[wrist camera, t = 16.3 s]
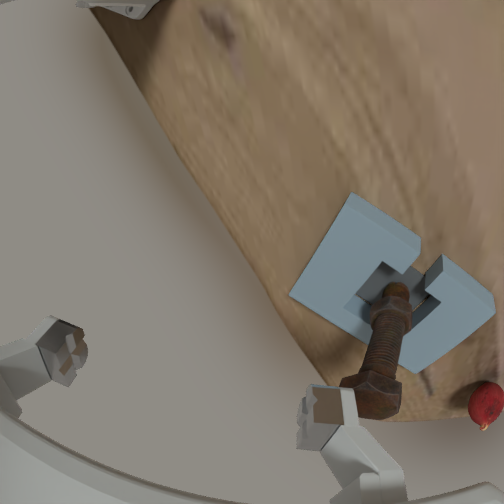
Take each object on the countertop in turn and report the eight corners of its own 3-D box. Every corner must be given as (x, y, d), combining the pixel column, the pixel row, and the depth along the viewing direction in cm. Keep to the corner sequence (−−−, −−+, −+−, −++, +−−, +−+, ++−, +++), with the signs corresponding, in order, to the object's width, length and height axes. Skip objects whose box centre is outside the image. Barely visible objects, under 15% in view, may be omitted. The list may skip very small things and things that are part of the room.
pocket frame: (297, 280, 38) (288, 295, 36) (351, 191, 28) (344, 203, 26) (418, 356, 34) (415, 374, 32) (492, 294, 25) (495, 312, 23)
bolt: (428, 284, 28) (413, 404, 18) (408, 314, 32) (383, 426, 21) (383, 264, 30) (348, 378, 20) (366, 295, 33) (326, 404, 23)
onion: (483, 367, 29) (481, 416, 24) (511, 375, 27) (511, 422, 22) (463, 389, 33) (458, 435, 27) (490, 395, 31) (487, 440, 25)
